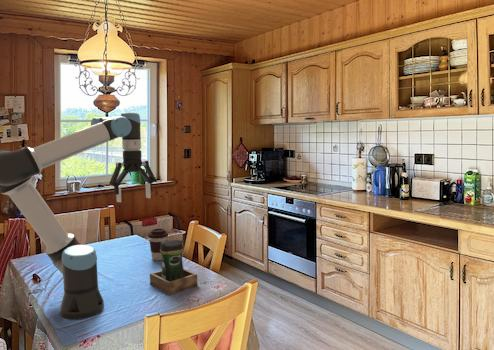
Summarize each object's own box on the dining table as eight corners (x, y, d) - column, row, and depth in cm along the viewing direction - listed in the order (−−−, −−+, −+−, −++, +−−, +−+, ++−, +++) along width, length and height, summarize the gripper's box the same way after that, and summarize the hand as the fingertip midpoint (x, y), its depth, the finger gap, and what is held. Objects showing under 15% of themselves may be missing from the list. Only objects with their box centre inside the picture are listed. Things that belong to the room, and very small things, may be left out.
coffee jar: (180, 277, 183) (179, 236, 181) (186, 283, 176) (185, 240, 174) (159, 281, 179) (157, 239, 177) (164, 287, 172) (163, 244, 170)
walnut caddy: (169, 294, 167) (169, 282, 166) (150, 284, 178) (149, 273, 177) (197, 285, 177) (197, 274, 176) (177, 276, 187) (177, 265, 187)
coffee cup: (146, 257, 215) (145, 229, 213) (164, 254, 220) (163, 226, 218) (153, 262, 207) (152, 233, 205) (172, 259, 212) (171, 230, 210)
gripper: (107, 151, 162) (110, 205, 164) (162, 148, 179) (164, 197, 181) (99, 150, 167) (101, 202, 170) (153, 148, 184) (155, 195, 187)
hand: (134, 200), depth 175 cm, fingers open, 13 cm apart
